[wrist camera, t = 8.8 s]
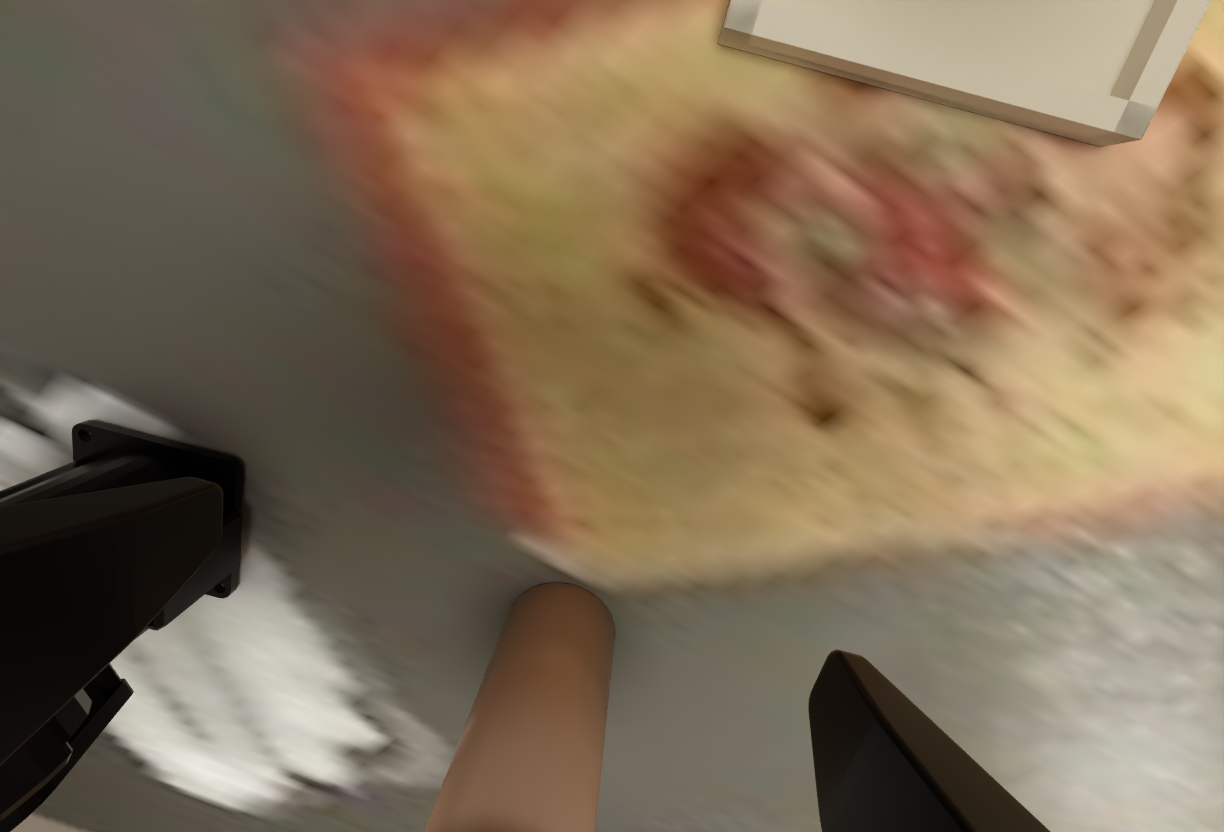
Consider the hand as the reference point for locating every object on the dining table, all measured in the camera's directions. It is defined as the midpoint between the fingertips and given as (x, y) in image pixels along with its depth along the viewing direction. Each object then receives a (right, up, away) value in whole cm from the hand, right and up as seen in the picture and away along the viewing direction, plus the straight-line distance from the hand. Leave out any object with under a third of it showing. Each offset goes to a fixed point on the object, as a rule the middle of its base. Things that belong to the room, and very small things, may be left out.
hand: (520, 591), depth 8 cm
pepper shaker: (-1, -7, +16) cm, 17 cm away
